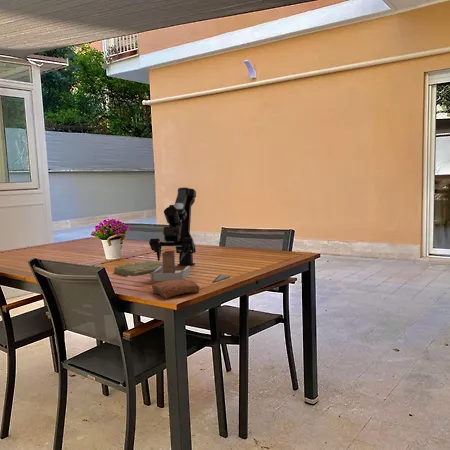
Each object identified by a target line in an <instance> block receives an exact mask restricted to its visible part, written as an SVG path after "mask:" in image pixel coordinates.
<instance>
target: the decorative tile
mask: <svg viewBox="0 0 450 450" xmlns="http://www.w3.org/2000/svg"><path fill="white" fill-rule="evenodd" d="M160 266H163V262H160V261H155V260H148V261H143V262H135V263H126V264H124V265H123V264H121V265H119V266H114V269H113V273H114V274H118V275H121V276H124V277H129V276H133V277H137V276H141V275H145V274H151V273H152V272H153V271H155V270H156V269H157V268H159V267H160Z"/></svg>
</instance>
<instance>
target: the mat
mask: <svg viewBox="0 0 450 450" xmlns="http://www.w3.org/2000/svg"><path fill="white" fill-rule="evenodd" d="M228 278H231V275H222V274H219V275H218V276H217V277H215V279H213V281H212V282H211V284H212V283H216V282H220V281H222V280H225V279H228Z"/></svg>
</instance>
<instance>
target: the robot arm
mask: <svg viewBox="0 0 450 450" xmlns="http://www.w3.org/2000/svg"><path fill="white" fill-rule="evenodd" d="M196 198H197V192H196V190H195V189H194V188H189V187H187V186H183V187H181V186H180V187H178V189H177V196H176V199H175V203H174V204H169V206H167V207H166V208H165V209H164V210H163V214H164V218H165V220H166V224H168V226H164V227H163V232H162V235H163V236H164V237H163V238H164V240H160V238H158V237H156V238H153V237H151V238H150V239H149V241H148V242H149V243H148V244H149V247H150V249H151V251H153V252H155V253H156V257H157V262H160V260H161V254H162V247H175V250H176V254H179V256H178V257H179V258H178V259H179V260H178V262H179V263H177V266H180V267H187V266H190V267H191V266H193V265H196V263H195V262H194V259H193V254H195V253H196V249H197V248H196V244H195V241H194V239H193V237H192V235H191V234H190V233H191V221H192V220H191V218H192V217H191V215H192V206H193V205H194V204H195V201H196Z"/></svg>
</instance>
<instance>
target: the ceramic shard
mask: <svg viewBox="0 0 450 450" xmlns="http://www.w3.org/2000/svg"><path fill="white" fill-rule="evenodd" d="M200 289H201V288H200V286H199V284H197V283H195V282H194V281H190V280H185V279H184V280H168V281H158V282H156V283H154V284H152V292H153V294H157V295H160V297H162V298H163V299H164V300H167V299H169V298H172V297H174V296H178V295H182V294H188V293H189V294H190V293H199V292H200V291H201V290H200Z"/></svg>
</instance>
